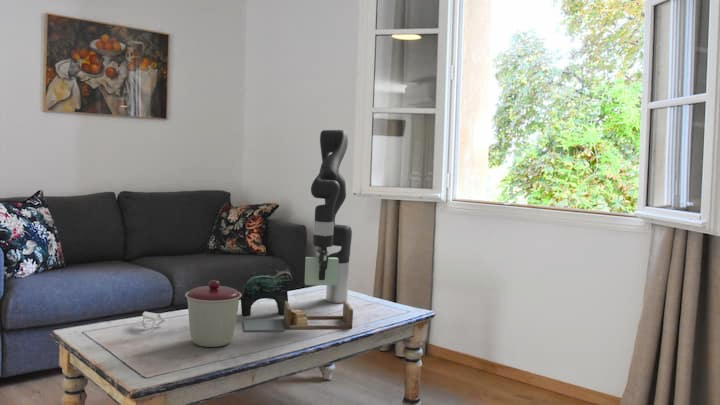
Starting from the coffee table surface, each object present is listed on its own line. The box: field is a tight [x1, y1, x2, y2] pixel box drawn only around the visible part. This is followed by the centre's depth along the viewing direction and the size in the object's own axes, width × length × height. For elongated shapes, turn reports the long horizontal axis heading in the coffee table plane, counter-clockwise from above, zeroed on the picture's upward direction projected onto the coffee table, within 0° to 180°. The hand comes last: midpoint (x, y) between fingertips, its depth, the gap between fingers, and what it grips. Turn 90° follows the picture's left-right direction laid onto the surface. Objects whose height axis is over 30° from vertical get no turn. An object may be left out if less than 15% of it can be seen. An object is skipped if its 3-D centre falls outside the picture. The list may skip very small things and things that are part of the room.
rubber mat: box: [242, 318, 285, 333], centre depth 235 cm, size 14×14×1 cm
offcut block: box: [290, 309, 309, 326], centre depth 241 cm, size 8×4×4 cm, turn 30°
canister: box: [184, 279, 242, 348], centre depth 212 cm, size 18×18×21 cm
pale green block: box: [303, 256, 339, 286], centre depth 240 cm, size 3×12×10 cm, turn 103°
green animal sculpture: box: [240, 263, 293, 317], centre depth 250 cm, size 20×6×20 cm, turn 108°
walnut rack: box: [283, 300, 354, 330], centre depth 242 cm, size 14×24×7 cm, turn 102°
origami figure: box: [141, 311, 166, 333], centre depth 226 cm, size 12×8×5 cm
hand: (320, 278), depth 240 cm, fingers closed on pale green block, 3 cm apart
